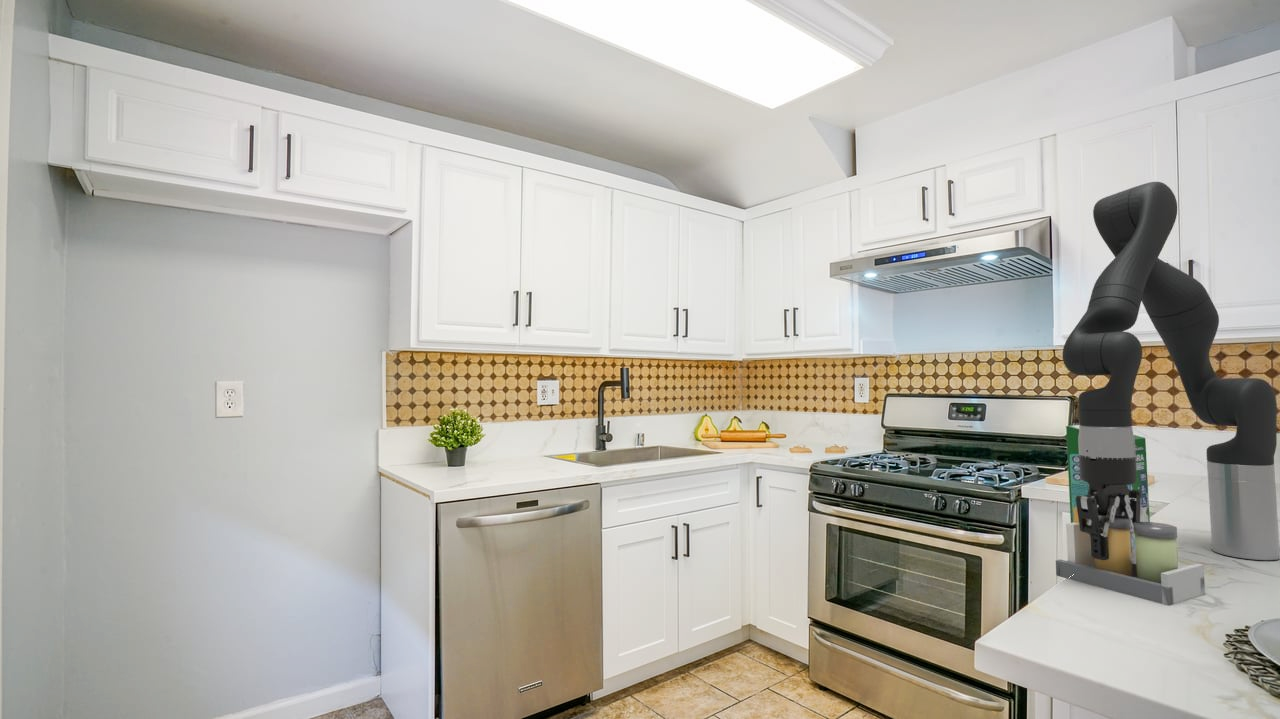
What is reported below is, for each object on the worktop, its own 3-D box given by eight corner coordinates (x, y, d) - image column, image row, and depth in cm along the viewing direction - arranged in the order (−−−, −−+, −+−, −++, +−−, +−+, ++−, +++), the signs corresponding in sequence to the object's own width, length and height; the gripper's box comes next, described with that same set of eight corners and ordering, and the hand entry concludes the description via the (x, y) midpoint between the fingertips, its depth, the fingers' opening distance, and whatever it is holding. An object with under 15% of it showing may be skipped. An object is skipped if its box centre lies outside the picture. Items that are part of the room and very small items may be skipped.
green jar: (1148, 584, 99) (1144, 520, 100) (1187, 594, 94) (1183, 526, 95) (1129, 589, 97) (1125, 524, 97) (1169, 600, 92) (1165, 531, 93)
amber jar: (1105, 574, 105) (1102, 513, 106) (1141, 582, 100) (1137, 518, 101) (1086, 578, 103) (1083, 515, 103) (1121, 586, 98) (1118, 521, 99)
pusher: (1093, 567, 107) (1090, 504, 108) (1101, 569, 106) (1097, 505, 107) (1068, 573, 104) (1065, 508, 105) (1076, 575, 103) (1072, 510, 104)
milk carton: (1126, 568, 110) (1119, 427, 111) (1071, 556, 118) (1065, 425, 119) (1152, 561, 114) (1145, 425, 115) (1097, 549, 122) (1091, 422, 123)
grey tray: (1092, 571, 109) (1090, 541, 109) (1205, 599, 94) (1203, 564, 95) (1056, 580, 105) (1055, 549, 105) (1169, 610, 90) (1167, 574, 90)
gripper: (1107, 448, 109) (1112, 545, 108) (1055, 454, 103) (1060, 556, 102) (1157, 452, 102) (1163, 555, 101) (1105, 458, 96) (1111, 568, 95)
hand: (1111, 555), depth 102 cm, fingers open, 6 cm apart
